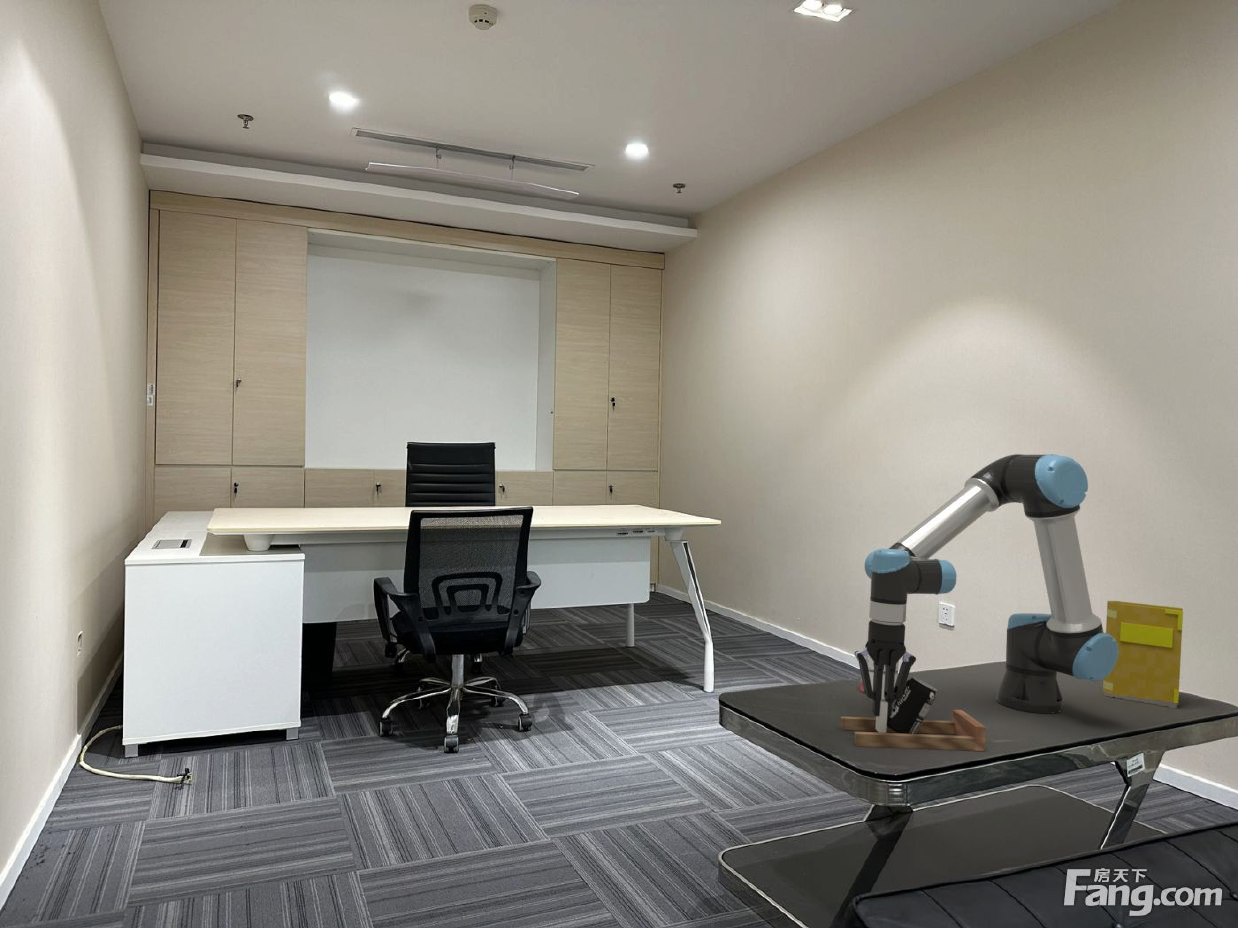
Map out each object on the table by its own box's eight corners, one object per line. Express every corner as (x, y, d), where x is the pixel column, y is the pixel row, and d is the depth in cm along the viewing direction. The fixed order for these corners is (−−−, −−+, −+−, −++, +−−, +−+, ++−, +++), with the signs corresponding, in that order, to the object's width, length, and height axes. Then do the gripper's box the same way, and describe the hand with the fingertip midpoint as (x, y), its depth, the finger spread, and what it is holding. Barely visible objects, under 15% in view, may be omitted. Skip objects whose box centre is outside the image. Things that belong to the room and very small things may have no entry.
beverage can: (878, 719, 187) (905, 671, 187) (904, 732, 188) (930, 684, 187) (890, 730, 180) (918, 681, 180) (917, 744, 181) (944, 694, 181)
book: (1177, 703, 224) (1182, 608, 224) (1178, 708, 219) (1183, 611, 218) (1103, 691, 233) (1108, 599, 233) (1102, 696, 228) (1106, 602, 227)
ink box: (859, 690, 222) (861, 645, 222) (873, 689, 224) (875, 644, 224) (883, 700, 214) (885, 652, 214) (897, 698, 216) (900, 651, 216)
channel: (960, 732, 190) (961, 709, 190) (984, 750, 178) (985, 727, 178) (839, 727, 190) (840, 704, 190) (855, 745, 178) (856, 721, 178)
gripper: (910, 619, 188) (904, 726, 188) (852, 616, 187) (845, 723, 188) (923, 626, 180) (917, 738, 180) (862, 623, 180) (855, 734, 180)
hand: (880, 730), depth 184 cm, fingers closed
